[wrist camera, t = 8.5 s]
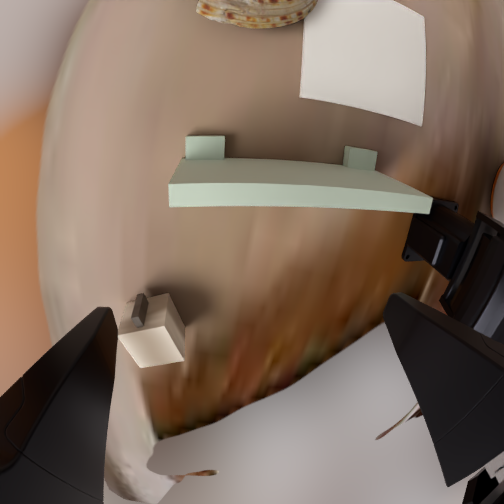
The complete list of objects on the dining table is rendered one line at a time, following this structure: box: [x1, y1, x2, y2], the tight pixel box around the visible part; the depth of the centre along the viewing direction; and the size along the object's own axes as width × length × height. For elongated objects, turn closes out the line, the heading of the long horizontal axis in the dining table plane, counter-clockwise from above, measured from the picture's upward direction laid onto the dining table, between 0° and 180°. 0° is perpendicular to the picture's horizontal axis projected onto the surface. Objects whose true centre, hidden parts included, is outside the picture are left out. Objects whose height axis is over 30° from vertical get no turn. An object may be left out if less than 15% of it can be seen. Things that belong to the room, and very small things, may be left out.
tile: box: [299, 0, 426, 126], centre depth 14 cm, size 11×11×1 cm
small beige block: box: [118, 293, 185, 368], centre depth 20 cm, size 4×5×4 cm
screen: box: [168, 136, 433, 214], centre depth 15 cm, size 14×4×7 cm, turn 87°
